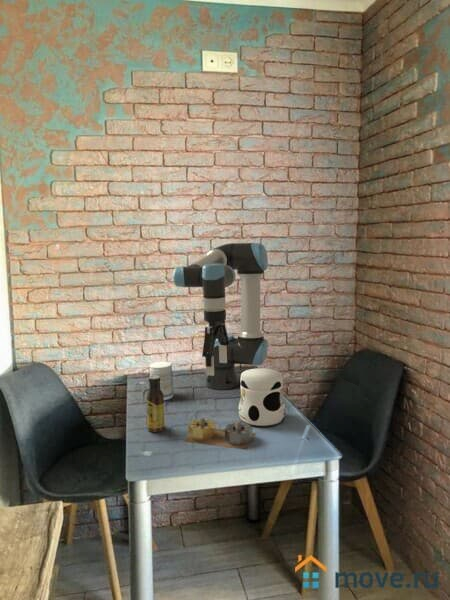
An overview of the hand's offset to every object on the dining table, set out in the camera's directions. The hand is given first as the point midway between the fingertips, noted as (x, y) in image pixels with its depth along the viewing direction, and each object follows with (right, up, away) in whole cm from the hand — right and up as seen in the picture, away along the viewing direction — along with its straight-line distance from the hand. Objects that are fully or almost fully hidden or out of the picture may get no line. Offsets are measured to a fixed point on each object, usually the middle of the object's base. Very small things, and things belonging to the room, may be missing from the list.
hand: (216, 368), depth 160 cm
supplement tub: (-24, -18, +37) cm, 47 cm away
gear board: (+1, -24, -5) cm, 24 cm away
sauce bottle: (-22, -23, +5) cm, 32 cm away
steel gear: (+7, -23, -7) cm, 25 cm away
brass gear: (-5, -22, -3) cm, 23 cm away
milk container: (+17, -21, +10) cm, 29 cm away
